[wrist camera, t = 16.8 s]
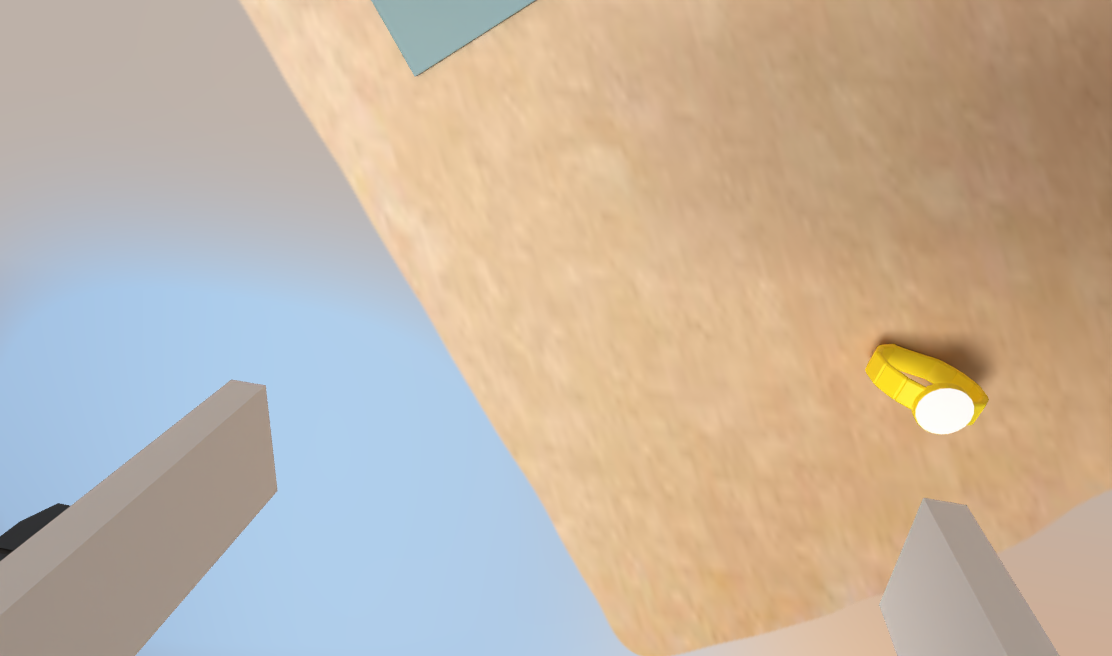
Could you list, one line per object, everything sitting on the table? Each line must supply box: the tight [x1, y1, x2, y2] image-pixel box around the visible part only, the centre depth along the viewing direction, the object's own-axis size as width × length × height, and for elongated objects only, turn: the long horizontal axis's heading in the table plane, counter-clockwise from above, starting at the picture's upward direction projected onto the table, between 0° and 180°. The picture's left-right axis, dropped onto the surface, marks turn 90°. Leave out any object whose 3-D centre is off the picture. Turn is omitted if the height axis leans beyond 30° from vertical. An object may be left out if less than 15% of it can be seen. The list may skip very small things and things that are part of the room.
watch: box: [865, 344, 989, 434], centre depth 36 cm, size 6×3×6 cm, turn 73°
